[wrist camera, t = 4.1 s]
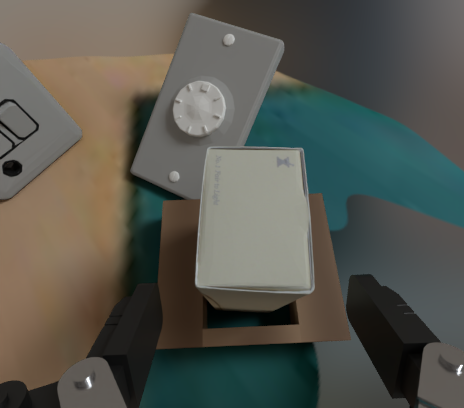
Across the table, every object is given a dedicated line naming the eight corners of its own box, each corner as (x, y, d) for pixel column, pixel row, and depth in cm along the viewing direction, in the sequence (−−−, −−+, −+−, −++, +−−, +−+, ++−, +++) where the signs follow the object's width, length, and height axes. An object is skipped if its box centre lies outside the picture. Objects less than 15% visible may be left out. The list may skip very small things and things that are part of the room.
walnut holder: (164, 347, 20) (153, 349, 17) (171, 216, 24) (163, 200, 21) (335, 339, 20) (351, 340, 17) (312, 209, 24) (321, 193, 21)
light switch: (121, 171, 24) (185, 3, 22) (156, 177, 30) (208, 43, 28) (208, 212, 22) (284, 32, 21) (227, 210, 28) (287, 69, 26)
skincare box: (219, 232, 23) (202, 140, 12) (273, 234, 23) (305, 142, 12) (214, 313, 21) (187, 288, 10) (275, 316, 21) (318, 294, 10)
